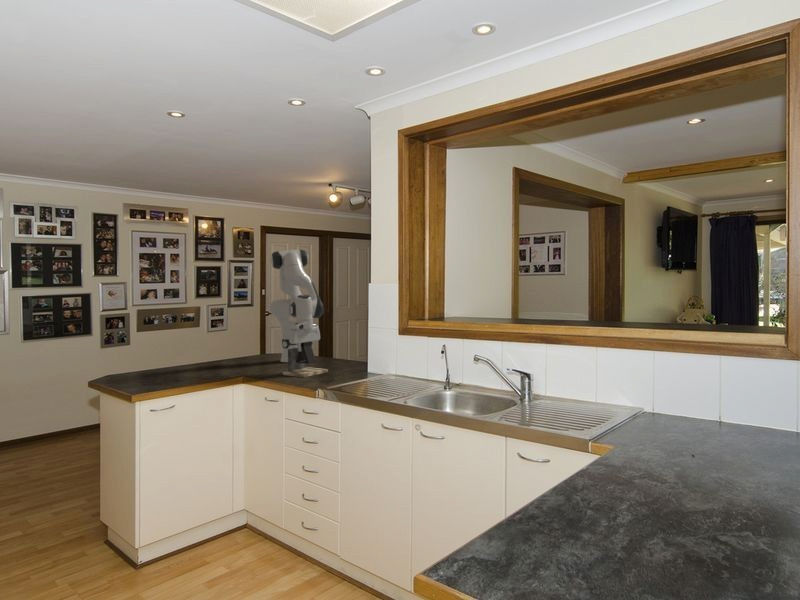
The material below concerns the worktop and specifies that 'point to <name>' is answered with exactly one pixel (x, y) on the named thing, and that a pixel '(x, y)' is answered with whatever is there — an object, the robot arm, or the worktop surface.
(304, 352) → the door stopper
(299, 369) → the l-shaped stand
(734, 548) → the worktop surface
